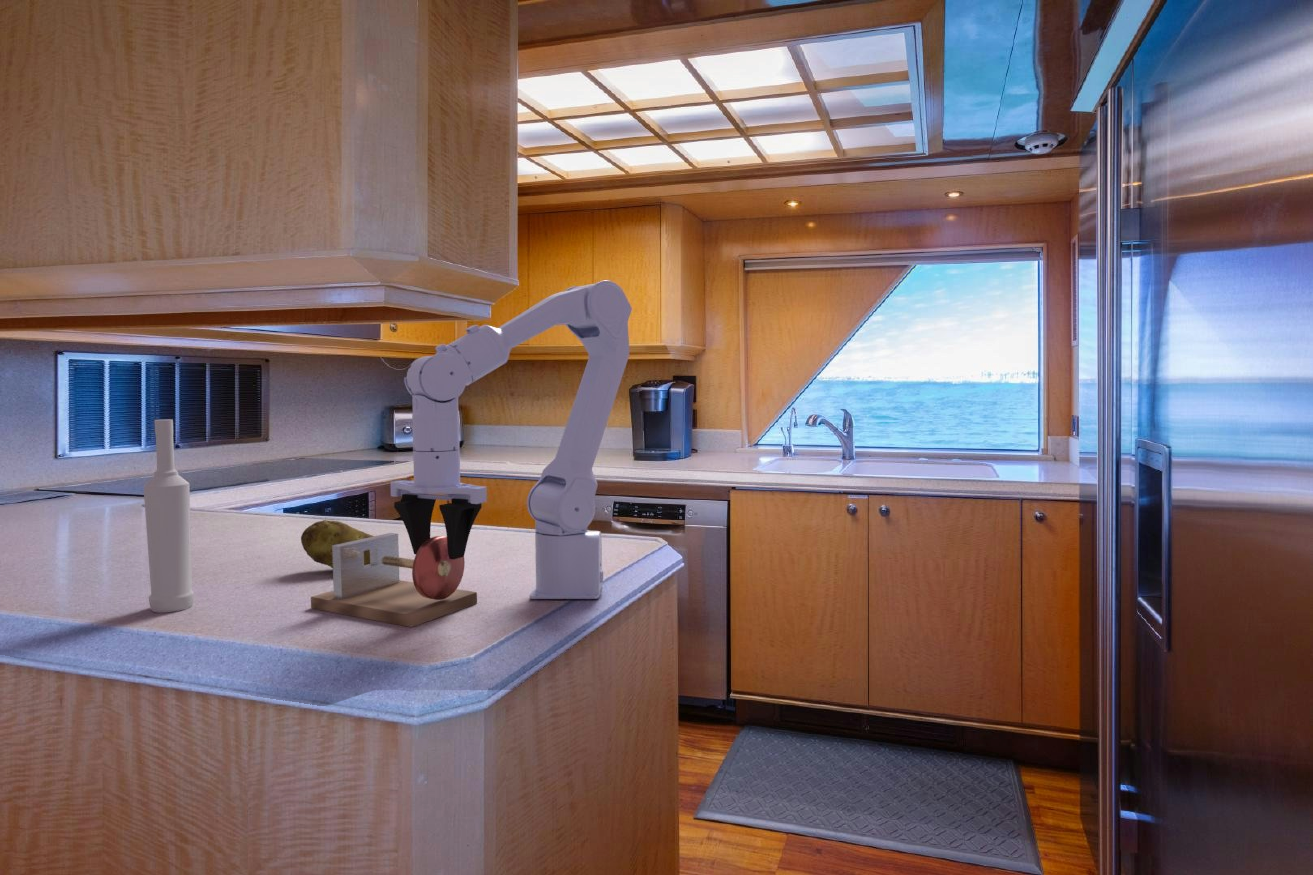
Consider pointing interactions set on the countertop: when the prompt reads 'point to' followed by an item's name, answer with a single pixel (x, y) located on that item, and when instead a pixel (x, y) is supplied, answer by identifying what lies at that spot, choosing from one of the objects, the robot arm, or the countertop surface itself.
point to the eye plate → (359, 577)
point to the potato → (330, 540)
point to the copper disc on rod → (432, 569)
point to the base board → (395, 604)
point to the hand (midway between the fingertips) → (438, 555)
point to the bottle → (168, 529)
